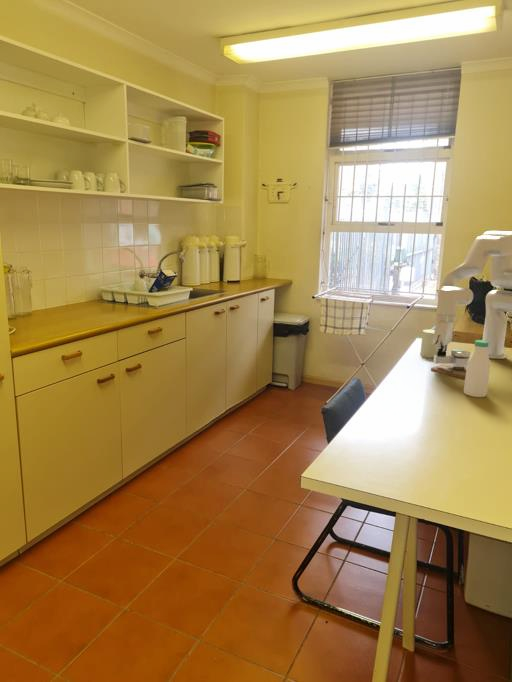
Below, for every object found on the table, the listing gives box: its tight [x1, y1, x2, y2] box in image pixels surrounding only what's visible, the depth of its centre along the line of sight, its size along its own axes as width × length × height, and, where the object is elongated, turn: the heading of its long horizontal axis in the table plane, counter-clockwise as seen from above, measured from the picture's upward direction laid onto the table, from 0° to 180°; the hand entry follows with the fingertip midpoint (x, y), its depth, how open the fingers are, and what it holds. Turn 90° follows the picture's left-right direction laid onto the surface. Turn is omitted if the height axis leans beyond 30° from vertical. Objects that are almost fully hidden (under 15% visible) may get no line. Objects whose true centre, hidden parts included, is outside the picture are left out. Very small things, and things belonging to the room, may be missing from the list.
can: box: [419, 329, 437, 358], centre depth 240 cm, size 9×9×12 cm
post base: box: [430, 357, 467, 380], centre depth 213 cm, size 16×16×7 cm
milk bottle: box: [463, 339, 491, 398], centre depth 183 cm, size 8×8×20 cm
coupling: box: [433, 349, 471, 367], centre depth 212 cm, size 7×14×6 cm, turn 94°
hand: (440, 360), depth 216 cm, fingers closed
